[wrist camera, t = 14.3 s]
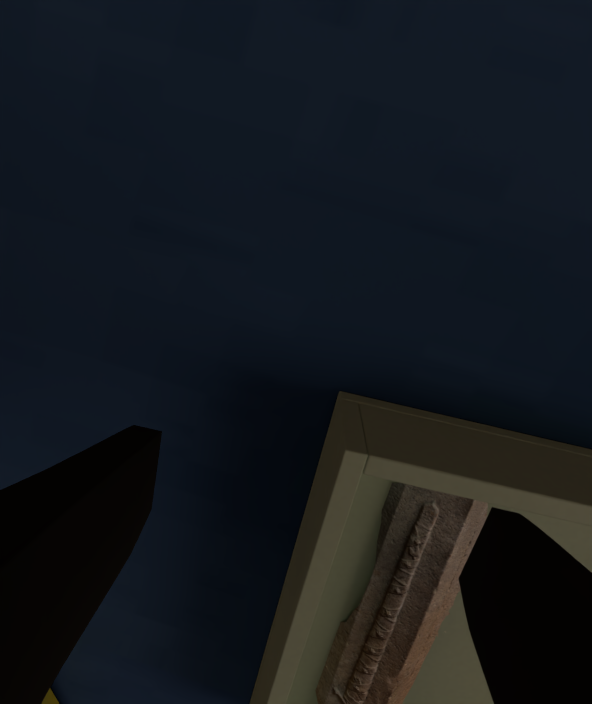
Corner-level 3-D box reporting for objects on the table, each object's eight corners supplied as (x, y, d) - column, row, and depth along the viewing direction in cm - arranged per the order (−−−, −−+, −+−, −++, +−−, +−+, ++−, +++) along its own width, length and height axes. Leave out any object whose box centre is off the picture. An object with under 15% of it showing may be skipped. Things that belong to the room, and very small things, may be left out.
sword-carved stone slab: (397, 739, 24) (340, 782, 21) (360, 681, 26) (305, 713, 24) (527, 482, 18) (468, 501, 15) (463, 438, 20) (404, 449, 18)
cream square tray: (248, 705, 25) (232, 814, 21) (339, 390, 18) (344, 449, 14) (590, 780, 26) (647, 902, 21) (808, 499, 19) (965, 592, 14)
